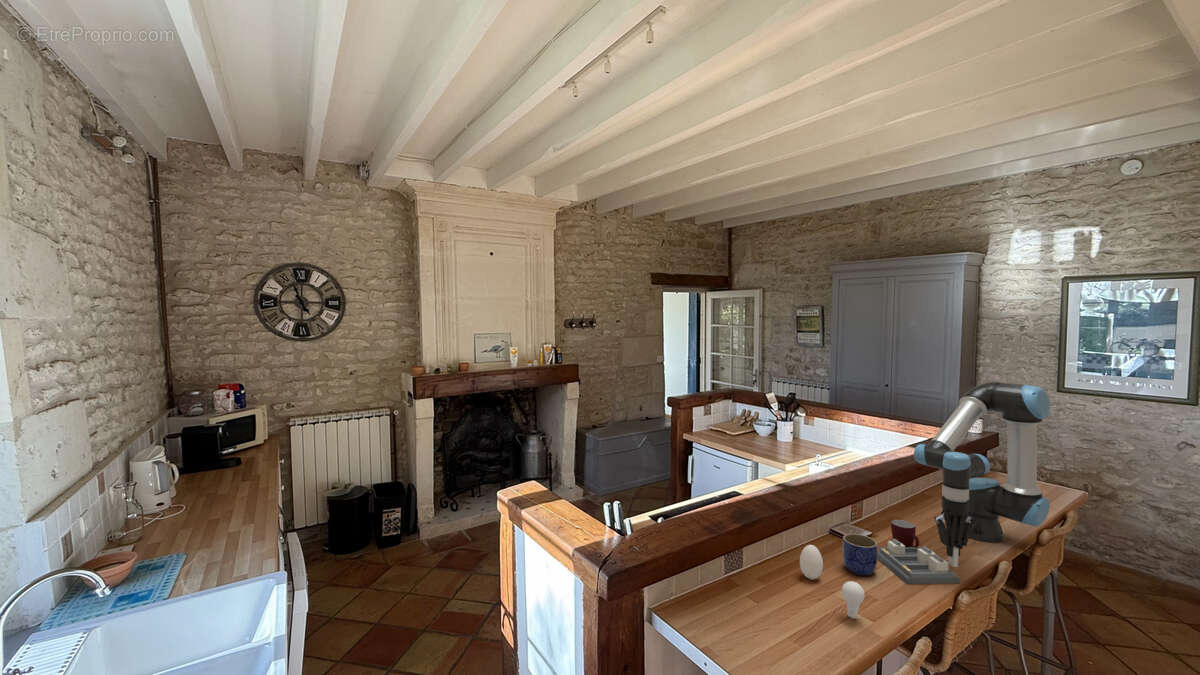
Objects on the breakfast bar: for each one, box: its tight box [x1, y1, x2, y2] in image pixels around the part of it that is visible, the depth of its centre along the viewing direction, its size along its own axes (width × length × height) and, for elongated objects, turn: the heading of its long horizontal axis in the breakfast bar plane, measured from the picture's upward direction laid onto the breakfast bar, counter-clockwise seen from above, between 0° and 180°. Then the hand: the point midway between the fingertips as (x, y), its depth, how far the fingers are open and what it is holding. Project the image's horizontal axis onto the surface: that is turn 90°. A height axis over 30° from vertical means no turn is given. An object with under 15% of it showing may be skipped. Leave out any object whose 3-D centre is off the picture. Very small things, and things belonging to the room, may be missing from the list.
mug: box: [890, 519, 920, 547], centre depth 188 cm, size 11×8×10 cm
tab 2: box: [917, 545, 937, 563], centre depth 174 cm, size 4×4×6 cm
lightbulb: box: [841, 580, 866, 620], centre depth 146 cm, size 6×6×11 cm
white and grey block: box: [928, 554, 949, 572], centre depth 168 cm, size 4×4×6 cm
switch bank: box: [877, 546, 960, 585], centre depth 174 cm, size 18×18×4 cm
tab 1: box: [887, 538, 905, 555], centre depth 180 cm, size 4×4×6 cm
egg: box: [799, 544, 824, 580], centre depth 168 cm, size 7×7×12 cm
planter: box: [842, 533, 878, 576], centre depth 173 cm, size 11×11×11 cm
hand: (952, 564), depth 168 cm, fingers closed
